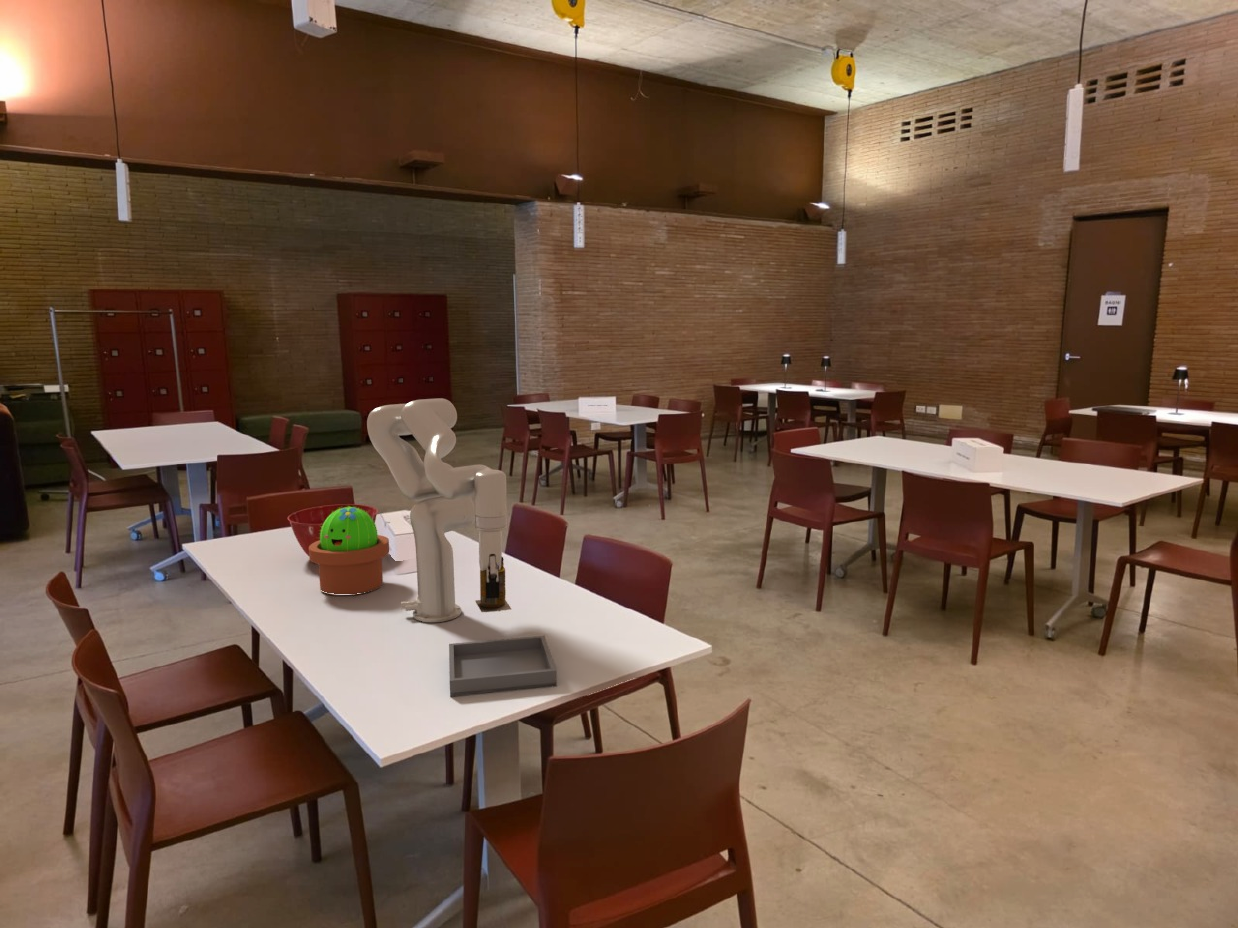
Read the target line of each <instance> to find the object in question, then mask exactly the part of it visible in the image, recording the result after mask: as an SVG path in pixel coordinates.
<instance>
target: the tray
mask: <svg viewBox="0 0 1238 928" xmlns="http://www.w3.org/2000/svg"><path fill="white" fill-rule="evenodd" d="M549 647H550V646H549V644H548V642H547V639H546V636H545V635H535V636H523V637H515V638H514V637H512V638H501V639H490V640H489V639H488V640H477V641H469V642H465V641H464V642H455V643H449V644H448V654H449V655H448V660H449V662H448V664H449V665H448V668H449V669H448V670H449V672H448V673H449V694H450V695H449V696H450V698H453V697H454V698H455V697H463V696H464V697H465V696H470V695H471V696H473V695H483V694H494V693H502V692H512V691H513V692H514V691H521V690H530V689H542V688H553V687H557V684H558V683H557V681H558V680H557V676H558V675H557V668H556V665H555V662H554V659H553V657H552V654H551V651H550V650H551V649H550V648H549ZM552 686H553V687H552Z"/></svg>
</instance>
